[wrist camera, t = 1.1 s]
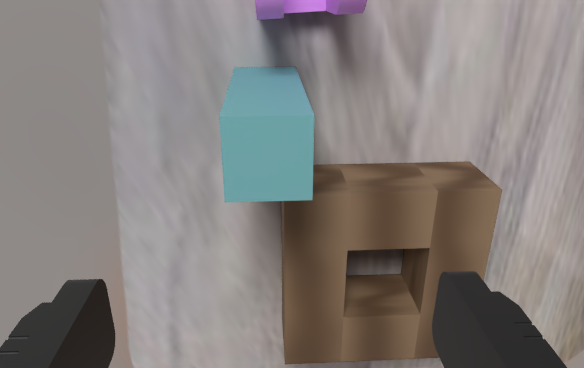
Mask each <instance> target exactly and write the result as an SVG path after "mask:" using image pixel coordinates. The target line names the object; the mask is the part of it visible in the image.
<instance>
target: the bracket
mask: <svg viewBox="0 0 584 368" xmlns="http://www.w3.org/2000/svg"><path fill="white" fill-rule="evenodd" d="M366 2H367V0H255V3H256V13H257V20H265V19H280V18H284V13H300V12H315V11H328V12H330V13H332V14H335V15H341V14H356V13H363V12H364V10H365V7H366Z"/></svg>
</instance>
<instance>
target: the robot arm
mask: <svg viewBox="0 0 584 368" xmlns="http://www.w3.org/2000/svg"><path fill="white" fill-rule="evenodd" d="M432 336H433V341H434V345H435V348H436V351H437V353H438V355H439V357H440V359H441V361H442V364H443V366H444V368H567V367H566V366H565V364H564V363H563V362H562V360H561V359H560V358H559V357H558V355H557V354H556V353H555V351H554V350H553V349H552V348H551V346H550V345H549V344H548V342H547V341H546V340H545V339H543V338H542V335H541V333H540V332H539V331H538V330H537V328H536V327H535V326H534V325H532V322H531V321H530V319H529V318H528V317H527V315H526V314H525V313H524V312H523V310H522V309H521V308H520V306H519V305H517V304H516V303H515V302H513V301H512V300H510V299H509V298H508V297H506V296H505V295H503V294H502V293H501V292H491V291H490V290H489V288H488V287H487V285H486V284H485V283H484V281H483V280H482V278H481V277H480V276H479V274H478V273H477V272H475V271H455V272H442V274H441V275H440V278H439V283H438V289H437V295H436V301H435V308H434V314H433V320H432ZM114 347H115V329H114V324H113V319H112V313H111V308H110V303H109V298H108V292H107V288H106V284H105V282H104V281H103V280H102V279H93V280H92V279H89V280H68V281H67V282H66V283H65V284H64V285H63V286H62V288H61V290H60V291H59V292H58V294H57V295H56V297H55V298H54V300H53V301H52V303H41V304H40V305H39V306H37V307H36V308H35V309H33V310H32V311H31V312H29V313H28V314H27V315H25V316H24V317H23V318H22V319H21V320H20V322H19V323H18V325H17V326H16V327H15V328H14V330H13V331H12V332H11V334H10V335H9V339H8V340H6V341H5V342H4V343H3V345H2V346H1V347H0V368H108V367H109V364H110V362H111V359H112V356H113V353H114Z"/></svg>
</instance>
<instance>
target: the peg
mask: <svg viewBox="0 0 584 368" xmlns="http://www.w3.org/2000/svg"><path fill="white" fill-rule="evenodd" d="M220 133H221V149H222V164H223V180H224V196H225V202H259V201H300V200H312V199H313V155H314V113H313V111H312V108H311V105H310V103H309V100H308V98H307V95H306V93H305V90H304V88H303V85H302V83H301V80H300V77H299V75H298V72H297V70H296V67H235V68H234V72H233V75H232V78H231V81H230V84H229V88H228V91H227V94H226V97H225V100H224V104H223V107H222V110H221V113H220Z"/></svg>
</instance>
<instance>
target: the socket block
mask: <svg viewBox="0 0 584 368" xmlns="http://www.w3.org/2000/svg"><path fill="white" fill-rule="evenodd" d="M501 194H502V189H501V188H500V187H498V186H497V185H496V184H495V183H494V182H493V181H491V180H490V179H489V178H488V177H487V176H486V175H485V174H483V173H482V172H481V171H480V170H479V169H478V168H476V167H475V166H474V165H473V164H472V163H471V162H435V163H385V164H335V165H313V199H312V200H300V201H281V218H282V323H283V339H284V355H285V364H303V363H326V362H348V361H371V360H393V359H416V358H438V357H439V355H438V353H437V351H436V348H435V345H434V341H433V336H432V320H433V314H434V308H435V301H436V295H437V289H438V283H439V278H440V275H441V274H442V272H455V271H475V272H477V273H478V274H479V276H480V277H481V278H482V280H484V276H485V271H486V266H487V261H488V256H489V252H490V247H491V242H492V237H493V232H494V227H495V223H496V218H497V213H498V208H499V203H500V198H501ZM381 249H404V253H403V262H402V270H401V274H388V275H358V276H346V266H347V251H349V250H381Z"/></svg>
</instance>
